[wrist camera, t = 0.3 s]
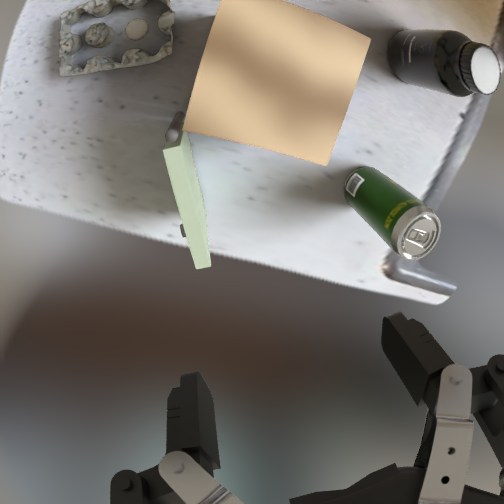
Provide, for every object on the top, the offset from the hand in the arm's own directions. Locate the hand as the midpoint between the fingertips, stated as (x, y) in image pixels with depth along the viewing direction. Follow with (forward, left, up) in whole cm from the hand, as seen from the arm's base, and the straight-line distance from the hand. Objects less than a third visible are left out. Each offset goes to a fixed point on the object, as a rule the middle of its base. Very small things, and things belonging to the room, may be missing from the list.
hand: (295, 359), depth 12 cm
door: (+1, -5, -23) cm, 23 cm away
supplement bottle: (-19, +15, -23) cm, 34 cm away
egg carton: (-12, -14, -24) cm, 30 cm away
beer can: (-2, +15, -23) cm, 28 cm away
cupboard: (-10, -1, -23) cm, 25 cm away
